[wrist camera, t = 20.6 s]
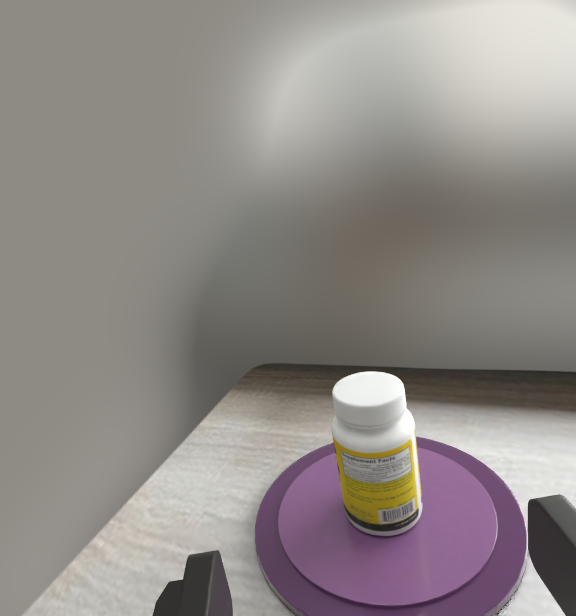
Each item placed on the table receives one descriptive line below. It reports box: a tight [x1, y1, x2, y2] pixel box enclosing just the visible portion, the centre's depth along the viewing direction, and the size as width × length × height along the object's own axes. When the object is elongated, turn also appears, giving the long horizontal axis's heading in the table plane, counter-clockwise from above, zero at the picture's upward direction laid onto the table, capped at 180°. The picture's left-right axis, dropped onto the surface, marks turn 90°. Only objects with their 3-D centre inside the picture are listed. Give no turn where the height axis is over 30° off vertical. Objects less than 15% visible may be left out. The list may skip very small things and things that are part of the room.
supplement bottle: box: [332, 372, 422, 536], centre depth 27 cm, size 5×5×8 cm
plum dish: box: [255, 437, 528, 616], centre depth 28 cm, size 16×16×1 cm
